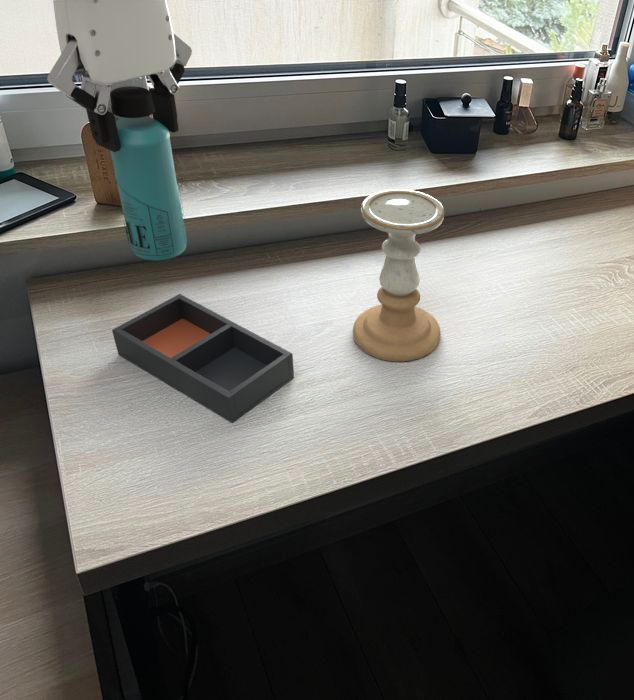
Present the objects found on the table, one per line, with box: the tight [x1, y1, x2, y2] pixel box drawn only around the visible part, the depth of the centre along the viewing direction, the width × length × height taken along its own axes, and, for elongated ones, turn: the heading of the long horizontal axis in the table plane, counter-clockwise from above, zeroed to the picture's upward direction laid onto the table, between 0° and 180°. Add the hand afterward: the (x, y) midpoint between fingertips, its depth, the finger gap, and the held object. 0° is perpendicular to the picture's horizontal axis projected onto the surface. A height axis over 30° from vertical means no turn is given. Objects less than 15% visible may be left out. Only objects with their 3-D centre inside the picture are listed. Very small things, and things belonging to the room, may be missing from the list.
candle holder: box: [352, 188, 445, 363], centre depth 96 cm, size 12×12×20 cm
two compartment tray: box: [111, 293, 295, 424], centre depth 92 cm, size 11×20×4 cm, turn 58°
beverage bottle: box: [109, 85, 188, 261], centre depth 80 cm, size 6×7×20 cm
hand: (138, 136), depth 77 cm, fingers closed on beverage bottle, 6 cm apart
